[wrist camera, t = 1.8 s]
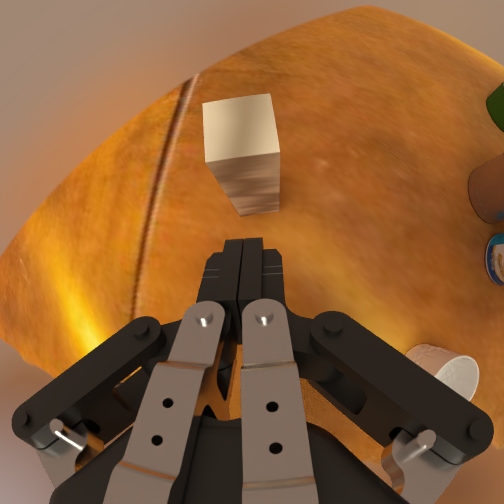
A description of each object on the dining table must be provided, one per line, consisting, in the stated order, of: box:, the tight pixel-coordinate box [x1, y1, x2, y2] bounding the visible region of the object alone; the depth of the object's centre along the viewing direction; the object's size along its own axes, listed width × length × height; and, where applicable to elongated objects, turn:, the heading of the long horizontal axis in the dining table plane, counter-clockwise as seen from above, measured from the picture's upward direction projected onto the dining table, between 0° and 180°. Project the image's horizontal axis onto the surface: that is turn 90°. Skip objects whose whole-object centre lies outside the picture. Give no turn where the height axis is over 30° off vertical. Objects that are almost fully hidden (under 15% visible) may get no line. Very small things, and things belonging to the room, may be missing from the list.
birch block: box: [203, 93, 280, 216], centre depth 27 cm, size 5×5×18 cm
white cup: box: [405, 343, 479, 402], centre depth 27 cm, size 8×8×10 cm
